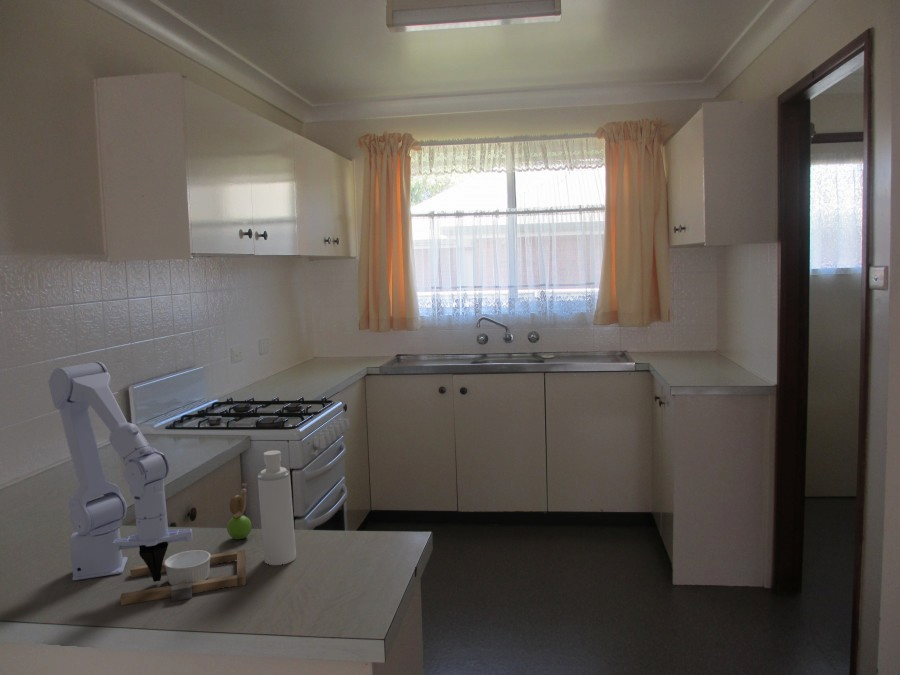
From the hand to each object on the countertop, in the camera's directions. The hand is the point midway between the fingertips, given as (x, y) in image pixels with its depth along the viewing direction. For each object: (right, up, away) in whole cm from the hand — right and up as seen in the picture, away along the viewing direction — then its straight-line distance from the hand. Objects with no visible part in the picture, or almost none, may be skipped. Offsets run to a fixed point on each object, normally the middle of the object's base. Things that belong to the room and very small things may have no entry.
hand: (157, 579), depth 144 cm
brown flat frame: (+5, -1, +2) cm, 5 cm away
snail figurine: (+10, +2, +23) cm, 25 cm away
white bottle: (+22, +1, +10) cm, 24 cm away
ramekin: (+6, -1, +2) cm, 6 cm away
